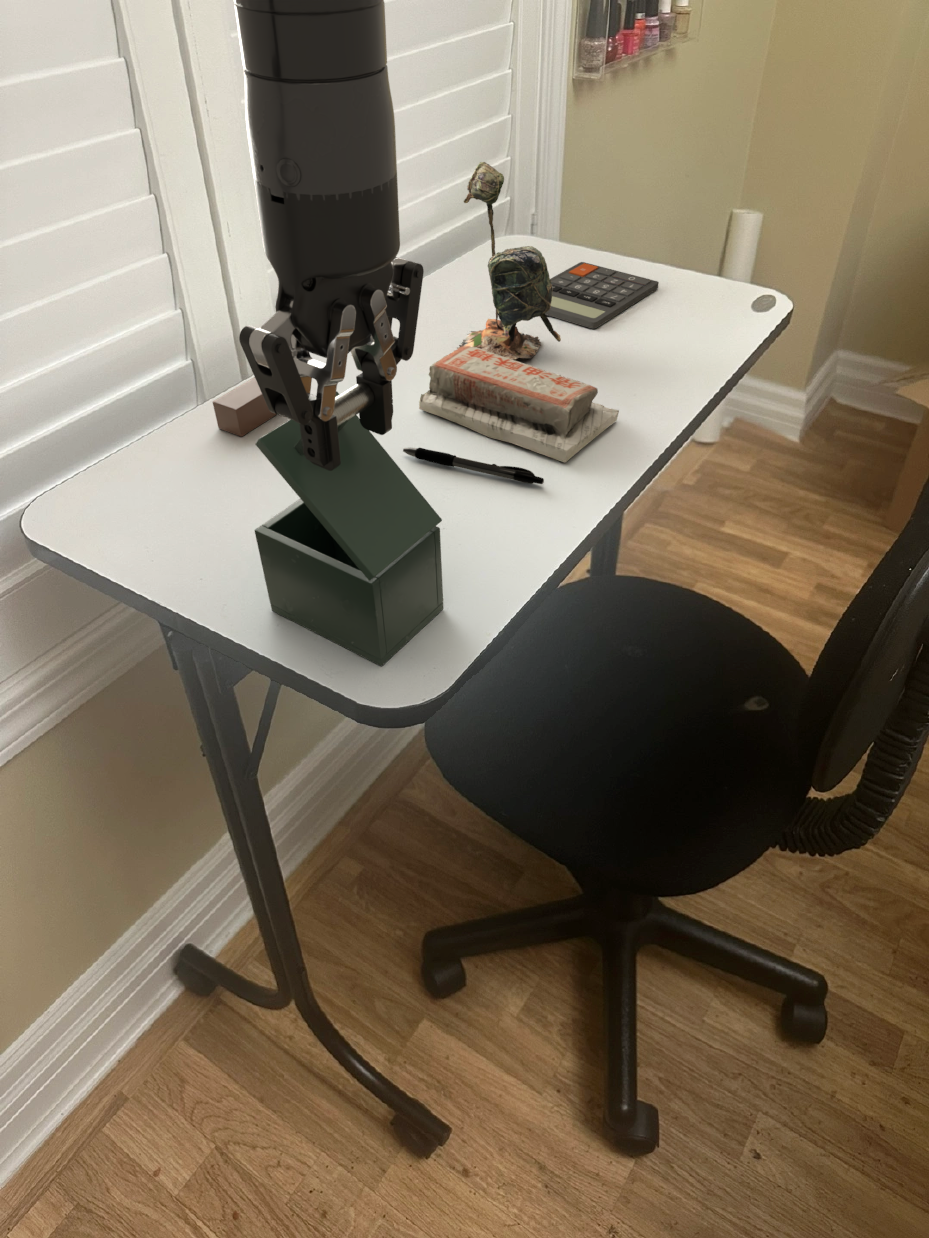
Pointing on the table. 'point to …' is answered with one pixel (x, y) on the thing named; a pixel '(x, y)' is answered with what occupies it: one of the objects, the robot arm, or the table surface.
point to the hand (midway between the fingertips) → (350, 445)
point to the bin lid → (354, 487)
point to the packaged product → (515, 402)
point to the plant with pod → (510, 283)
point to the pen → (474, 465)
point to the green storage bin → (348, 585)
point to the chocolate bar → (242, 409)
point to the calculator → (595, 294)
